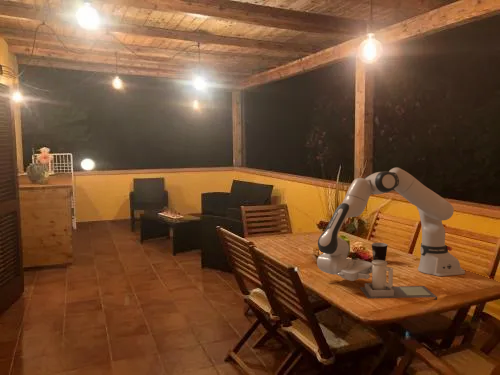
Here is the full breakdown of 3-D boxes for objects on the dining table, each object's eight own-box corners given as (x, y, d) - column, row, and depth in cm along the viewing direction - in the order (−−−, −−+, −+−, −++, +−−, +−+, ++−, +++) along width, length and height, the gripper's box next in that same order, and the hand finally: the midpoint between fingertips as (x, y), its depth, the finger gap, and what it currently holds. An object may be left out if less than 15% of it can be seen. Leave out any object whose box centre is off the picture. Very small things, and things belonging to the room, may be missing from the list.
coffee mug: (388, 264, 236) (388, 246, 235) (372, 263, 238) (372, 246, 237) (385, 258, 248) (386, 241, 247) (370, 257, 249) (370, 241, 248)
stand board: (424, 288, 197) (424, 280, 197) (437, 299, 183) (437, 291, 183) (359, 289, 197) (359, 282, 197) (367, 301, 183) (367, 292, 183)
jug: (368, 292, 190) (368, 262, 189) (375, 288, 195) (376, 258, 193) (388, 297, 184) (388, 266, 182) (395, 293, 188) (395, 262, 187)
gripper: (335, 266, 193) (362, 273, 183) (358, 257, 208) (385, 262, 198) (335, 280, 194) (362, 287, 184) (358, 270, 208) (385, 275, 198)
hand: (374, 274), depth 191 cm, fingers open, 8 cm apart
